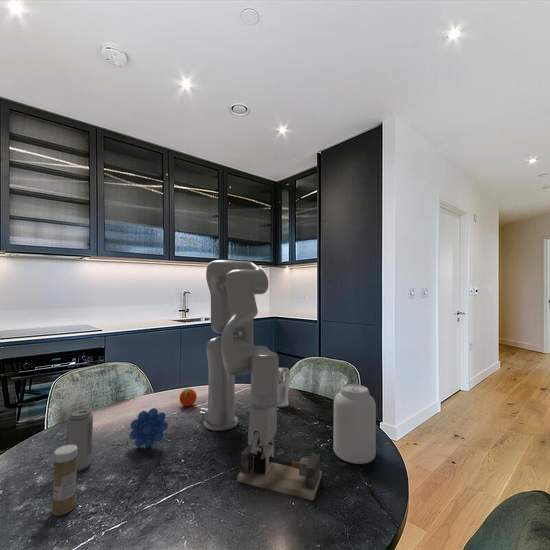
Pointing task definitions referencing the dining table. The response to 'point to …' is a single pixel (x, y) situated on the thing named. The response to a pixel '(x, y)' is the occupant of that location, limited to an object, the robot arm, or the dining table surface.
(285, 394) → the beer glass
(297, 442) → the dining table surface
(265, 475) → the small bench vise
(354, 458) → the can
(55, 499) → the pill bottle
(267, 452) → the sleeve
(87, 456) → the energy drink can
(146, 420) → the grapes
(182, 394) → the clementine
